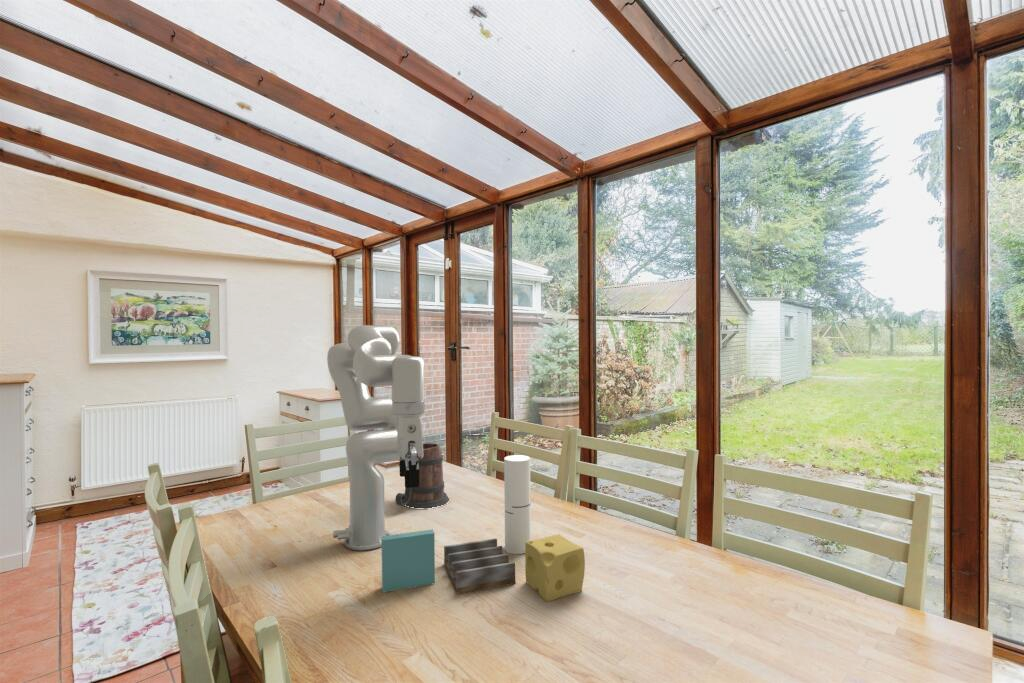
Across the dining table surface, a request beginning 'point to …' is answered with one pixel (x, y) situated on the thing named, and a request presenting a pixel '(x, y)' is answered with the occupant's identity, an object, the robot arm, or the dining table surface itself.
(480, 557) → the rack
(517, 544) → the cylindrical container
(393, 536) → the teal slab
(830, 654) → the dining table surface
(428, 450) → the tankard
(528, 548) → the cheese
